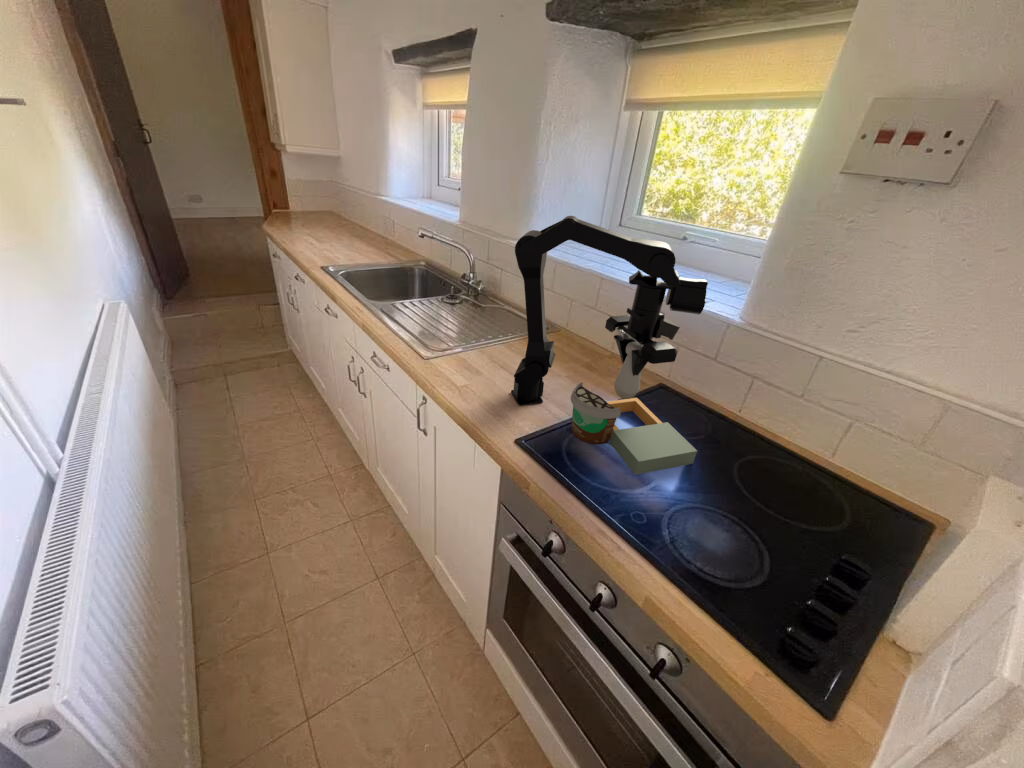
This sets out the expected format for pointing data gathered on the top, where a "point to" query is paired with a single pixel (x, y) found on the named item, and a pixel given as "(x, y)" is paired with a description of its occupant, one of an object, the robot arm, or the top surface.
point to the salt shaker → (628, 375)
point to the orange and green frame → (649, 441)
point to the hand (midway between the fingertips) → (630, 372)
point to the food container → (592, 416)
